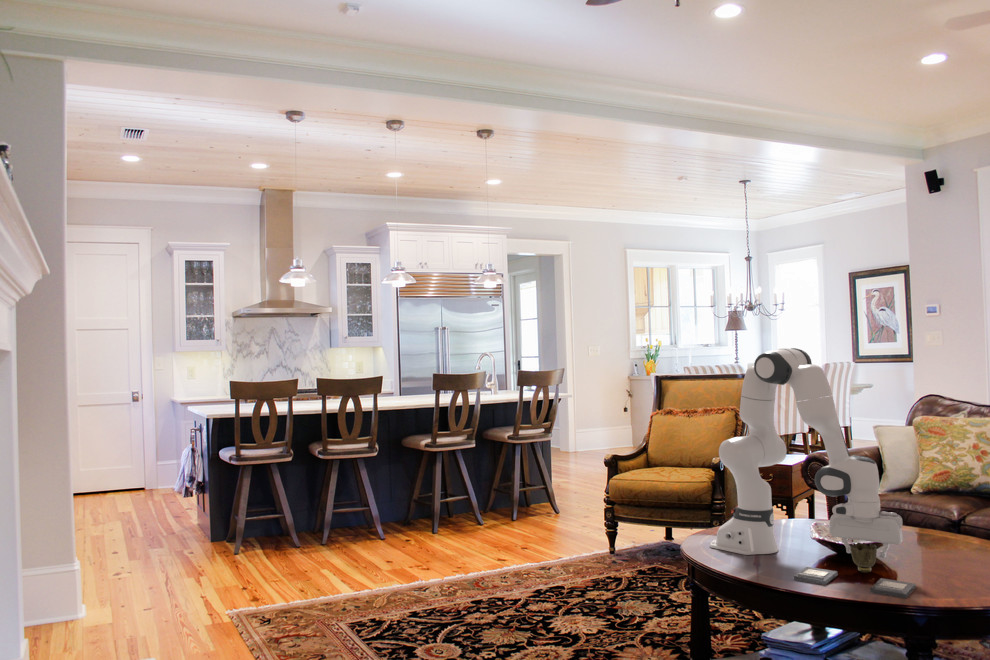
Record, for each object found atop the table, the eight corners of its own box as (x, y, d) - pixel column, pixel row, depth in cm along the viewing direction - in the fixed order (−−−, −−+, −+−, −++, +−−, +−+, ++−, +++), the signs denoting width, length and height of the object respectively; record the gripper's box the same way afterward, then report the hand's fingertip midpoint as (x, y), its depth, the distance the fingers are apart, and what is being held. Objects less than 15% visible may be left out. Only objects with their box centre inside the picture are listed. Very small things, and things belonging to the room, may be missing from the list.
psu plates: (793, 579, 225) (793, 573, 225) (806, 570, 234) (806, 564, 234) (906, 598, 205) (905, 592, 205) (915, 587, 215) (915, 581, 215)
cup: (847, 572, 232) (845, 545, 232) (857, 566, 237) (855, 541, 237) (872, 576, 226) (871, 549, 227) (882, 571, 231) (880, 544, 232)
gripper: (904, 511, 227) (906, 558, 227) (832, 504, 241) (834, 548, 240) (899, 515, 223) (901, 562, 222) (826, 507, 236) (828, 552, 235)
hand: (866, 555), depth 231 cm, fingers open, 8 cm apart
